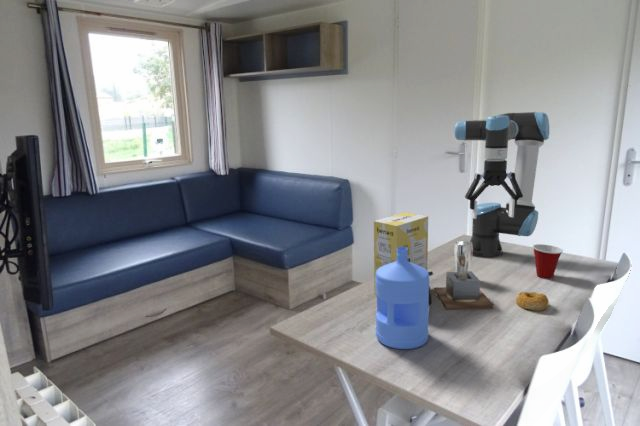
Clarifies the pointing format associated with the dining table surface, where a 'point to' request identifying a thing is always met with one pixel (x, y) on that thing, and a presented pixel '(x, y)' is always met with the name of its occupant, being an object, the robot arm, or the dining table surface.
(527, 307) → the bagel
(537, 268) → the plastic cup
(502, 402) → the dining table surface
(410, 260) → the pasta box
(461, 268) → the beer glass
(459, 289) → the collar
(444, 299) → the post stand
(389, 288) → the water jug
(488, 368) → the dining table surface
